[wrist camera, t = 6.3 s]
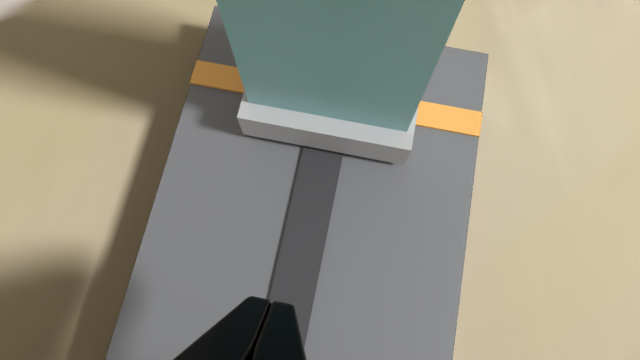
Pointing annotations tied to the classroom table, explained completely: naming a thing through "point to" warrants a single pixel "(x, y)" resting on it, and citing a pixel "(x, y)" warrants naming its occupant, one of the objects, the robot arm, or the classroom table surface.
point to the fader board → (308, 225)
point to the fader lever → (337, 69)
